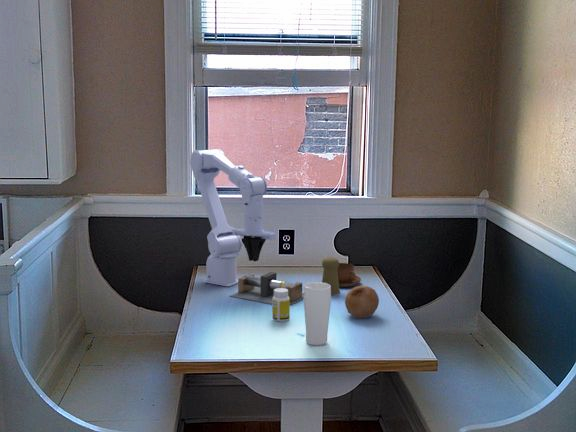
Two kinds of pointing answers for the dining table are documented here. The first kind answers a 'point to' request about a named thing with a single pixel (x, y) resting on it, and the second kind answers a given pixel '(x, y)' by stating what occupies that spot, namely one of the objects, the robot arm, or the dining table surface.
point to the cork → (331, 274)
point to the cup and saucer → (347, 275)
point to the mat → (258, 296)
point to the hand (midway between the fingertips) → (253, 260)
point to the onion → (361, 301)
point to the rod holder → (270, 286)
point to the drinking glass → (317, 312)
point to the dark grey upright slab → (264, 283)
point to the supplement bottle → (280, 305)
